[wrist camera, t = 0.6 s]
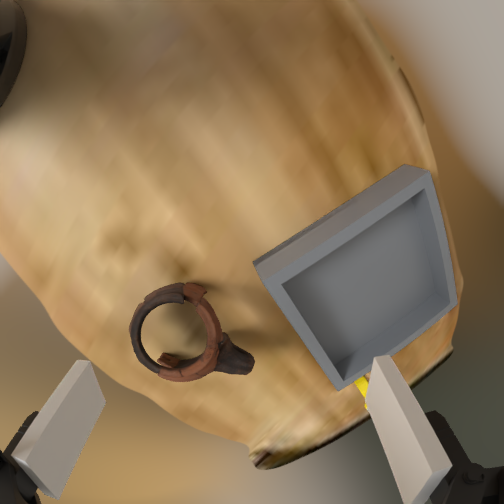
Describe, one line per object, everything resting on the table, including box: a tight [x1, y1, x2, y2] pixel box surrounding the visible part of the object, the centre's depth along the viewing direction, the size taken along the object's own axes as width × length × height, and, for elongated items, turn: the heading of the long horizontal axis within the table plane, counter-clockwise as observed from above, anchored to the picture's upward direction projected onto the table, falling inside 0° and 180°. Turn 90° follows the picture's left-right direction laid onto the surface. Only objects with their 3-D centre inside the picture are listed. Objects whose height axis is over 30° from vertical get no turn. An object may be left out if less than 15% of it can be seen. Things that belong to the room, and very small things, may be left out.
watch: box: [354, 376, 369, 411], centre depth 36 cm, size 6×3×6 cm, turn 35°
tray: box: [253, 164, 458, 391], centre depth 31 cm, size 18×18×4 cm
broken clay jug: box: [129, 283, 255, 382], centre depth 28 cm, size 12×10×8 cm
